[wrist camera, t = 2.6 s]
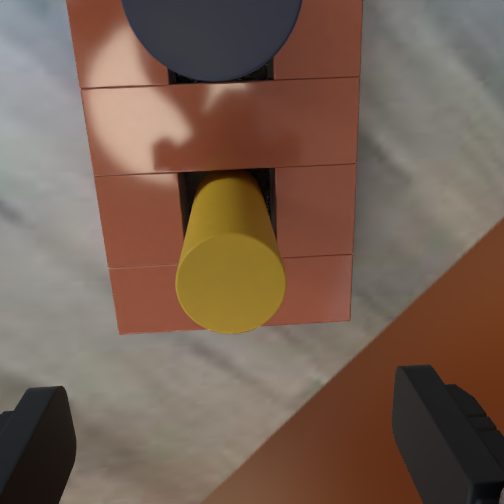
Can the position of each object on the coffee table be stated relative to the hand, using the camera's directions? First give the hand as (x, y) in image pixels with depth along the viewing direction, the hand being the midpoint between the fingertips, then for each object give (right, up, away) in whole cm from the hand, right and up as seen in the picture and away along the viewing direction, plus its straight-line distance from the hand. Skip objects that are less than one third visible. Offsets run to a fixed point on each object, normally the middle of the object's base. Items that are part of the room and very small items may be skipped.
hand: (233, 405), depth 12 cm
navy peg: (-1, +16, +15) cm, 22 cm away
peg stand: (-1, +12, +17) cm, 20 cm away
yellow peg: (-1, +7, +18) cm, 20 cm away
